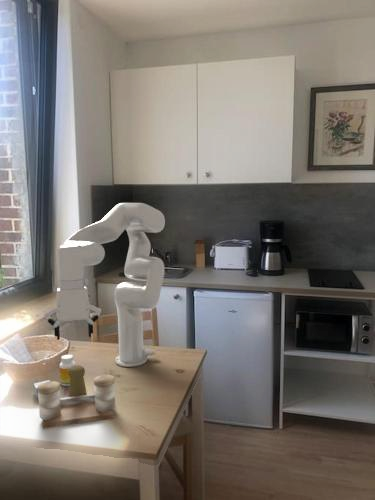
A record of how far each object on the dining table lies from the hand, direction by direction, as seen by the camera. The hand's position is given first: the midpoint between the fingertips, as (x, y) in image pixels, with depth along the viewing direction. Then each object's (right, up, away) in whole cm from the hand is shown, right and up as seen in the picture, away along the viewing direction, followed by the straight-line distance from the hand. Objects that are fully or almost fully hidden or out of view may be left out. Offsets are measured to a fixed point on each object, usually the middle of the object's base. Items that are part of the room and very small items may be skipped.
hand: (74, 337), depth 136 cm
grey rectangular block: (-12, -21, +6) cm, 25 cm away
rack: (+3, -22, -6) cm, 23 cm away
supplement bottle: (-6, -19, +15) cm, 25 cm away
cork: (0, -21, +3) cm, 21 cm away
